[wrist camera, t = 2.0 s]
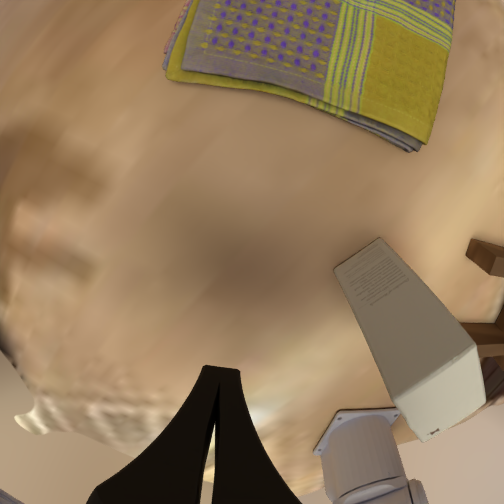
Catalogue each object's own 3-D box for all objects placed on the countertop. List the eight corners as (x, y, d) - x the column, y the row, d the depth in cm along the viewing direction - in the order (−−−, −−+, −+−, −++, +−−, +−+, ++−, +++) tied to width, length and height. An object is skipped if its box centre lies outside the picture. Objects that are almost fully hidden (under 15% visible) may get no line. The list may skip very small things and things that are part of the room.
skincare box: (410, 291, 21) (487, 403, 10) (366, 321, 22) (420, 446, 11) (380, 232, 19) (479, 343, 8) (330, 267, 21) (388, 404, 10)
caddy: (490, 343, 24) (510, 369, 20) (424, 345, 24) (444, 378, 19) (536, 244, 19) (564, 263, 15) (476, 224, 19) (510, 245, 15)
